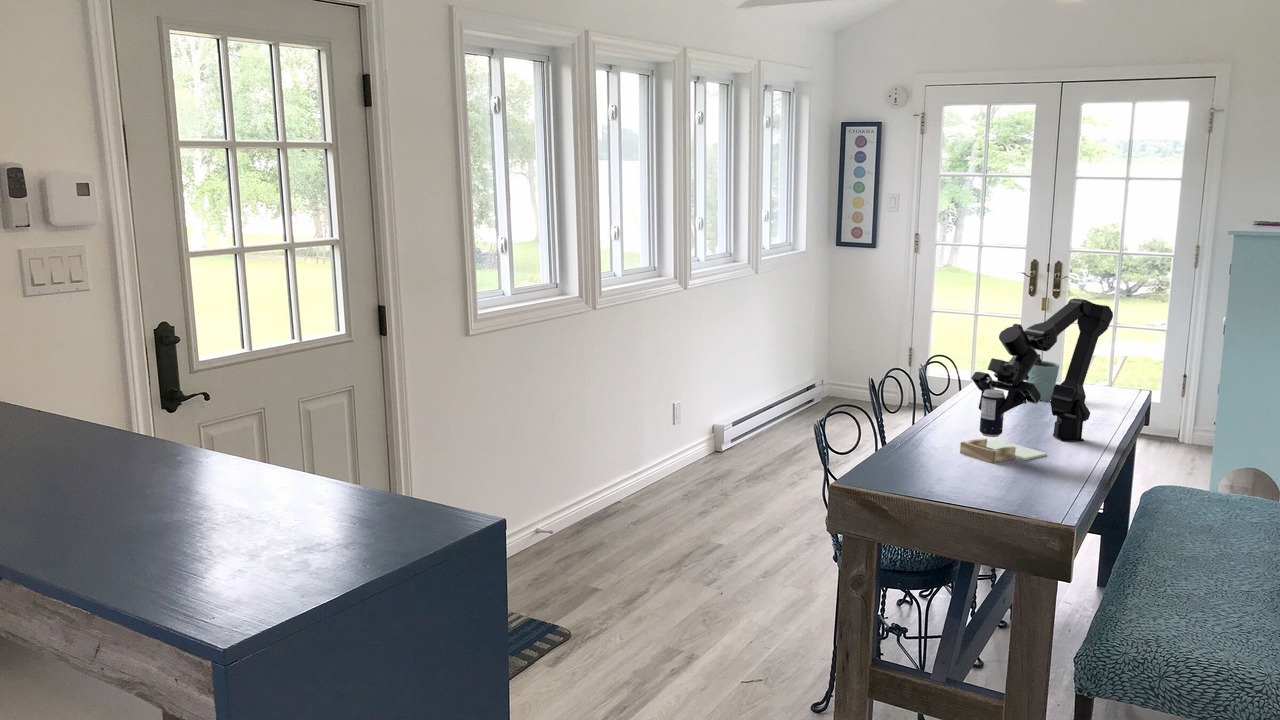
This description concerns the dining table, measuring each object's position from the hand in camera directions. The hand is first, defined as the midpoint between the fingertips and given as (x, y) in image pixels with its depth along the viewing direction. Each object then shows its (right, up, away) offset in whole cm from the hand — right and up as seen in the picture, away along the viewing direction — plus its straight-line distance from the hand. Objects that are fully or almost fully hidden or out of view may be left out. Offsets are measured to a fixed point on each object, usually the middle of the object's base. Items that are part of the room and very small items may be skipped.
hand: (988, 411), depth 259 cm
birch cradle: (+1, -12, +3) cm, 12 cm away
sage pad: (+9, -11, +8) cm, 16 cm away
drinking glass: (+43, +1, +71) cm, 83 cm away
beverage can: (+1, -7, +2) cm, 7 cm away
